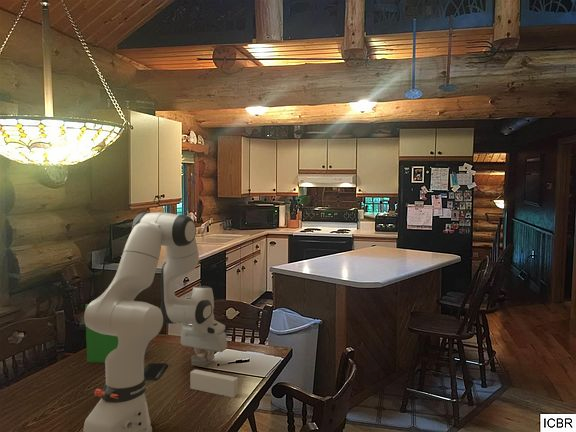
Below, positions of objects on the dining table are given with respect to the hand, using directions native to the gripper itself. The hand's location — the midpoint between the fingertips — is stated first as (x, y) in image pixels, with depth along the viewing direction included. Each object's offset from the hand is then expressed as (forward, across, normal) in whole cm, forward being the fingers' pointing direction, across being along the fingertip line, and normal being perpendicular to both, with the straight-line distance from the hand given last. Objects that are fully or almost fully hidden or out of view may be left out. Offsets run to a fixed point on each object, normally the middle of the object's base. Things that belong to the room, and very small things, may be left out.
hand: (203, 358), depth 196 cm
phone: (+3, -14, -14) cm, 20 cm away
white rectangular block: (+3, +17, -16) cm, 23 cm away
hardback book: (+3, -39, -10) cm, 40 cm away
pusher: (+2, 0, +1) cm, 2 cm away
